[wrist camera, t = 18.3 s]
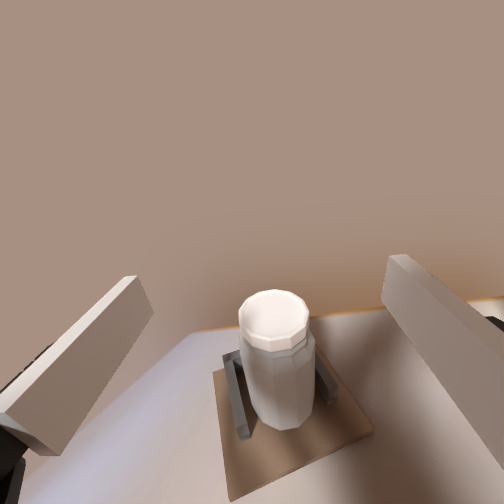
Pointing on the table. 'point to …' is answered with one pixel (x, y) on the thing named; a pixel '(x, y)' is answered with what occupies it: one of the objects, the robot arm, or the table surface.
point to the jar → (278, 357)
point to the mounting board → (285, 441)
